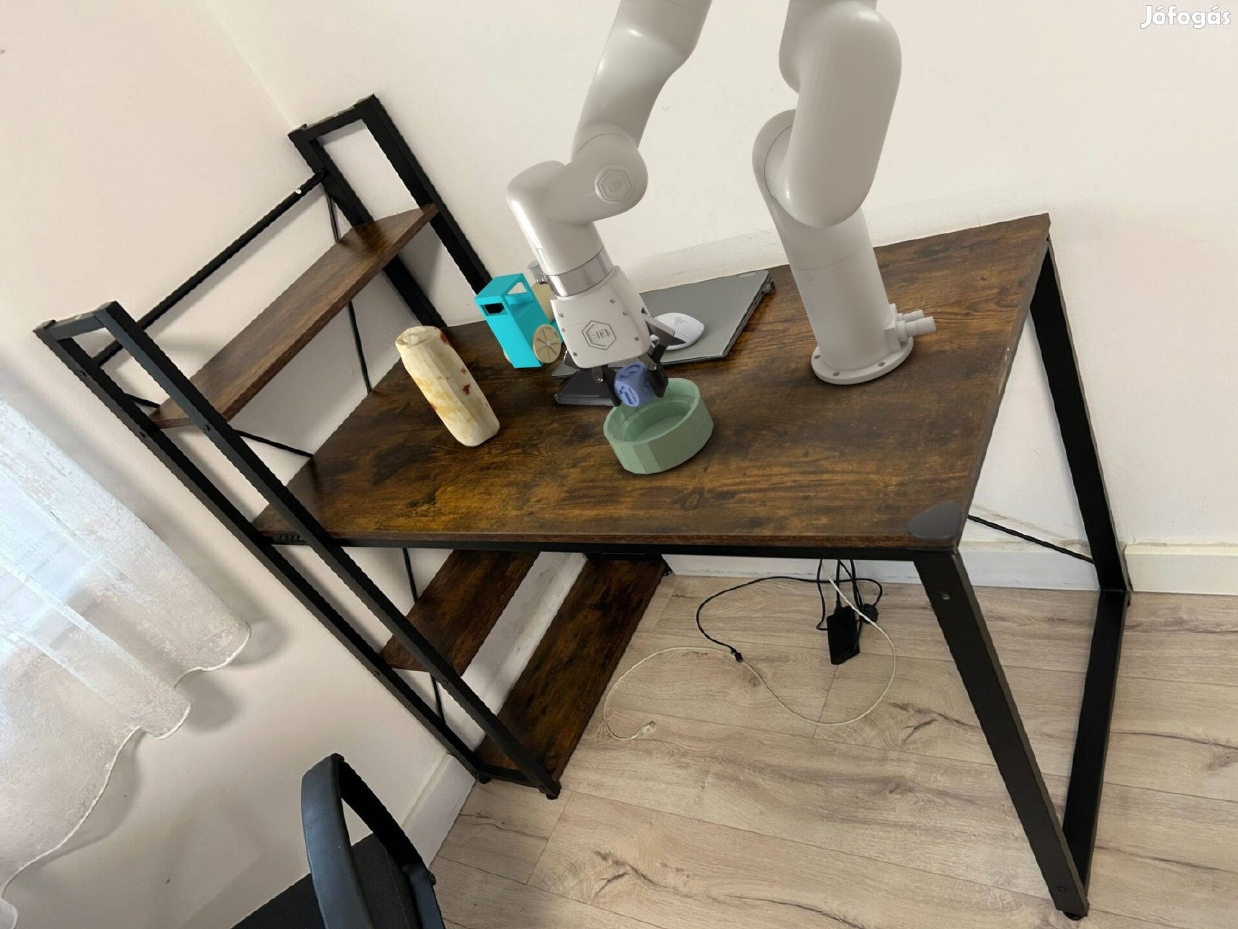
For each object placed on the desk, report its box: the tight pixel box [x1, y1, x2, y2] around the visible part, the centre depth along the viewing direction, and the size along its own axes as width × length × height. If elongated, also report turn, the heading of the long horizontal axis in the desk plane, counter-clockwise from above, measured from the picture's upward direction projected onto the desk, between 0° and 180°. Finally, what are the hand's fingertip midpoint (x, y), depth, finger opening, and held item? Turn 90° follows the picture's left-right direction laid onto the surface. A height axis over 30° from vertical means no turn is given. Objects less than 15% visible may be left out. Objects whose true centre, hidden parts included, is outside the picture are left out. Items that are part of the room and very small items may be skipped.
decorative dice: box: [614, 362, 656, 407], centre depth 109 cm, size 4×4×4 cm
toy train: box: [473, 259, 564, 369], centre depth 148 cm, size 8×17×15 cm, turn 148°
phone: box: [554, 366, 624, 407], centre depth 131 cm, size 8×1×15 cm
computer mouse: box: [650, 312, 705, 351], centre depth 136 cm, size 10×18×4 cm, turn 61°
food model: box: [395, 325, 500, 447], centre depth 132 cm, size 10×7×20 cm
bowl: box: [603, 377, 714, 475], centre depth 112 cm, size 13×13×6 cm
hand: (641, 394), depth 109 cm, fingers closed on decorative dice, 5 cm apart
